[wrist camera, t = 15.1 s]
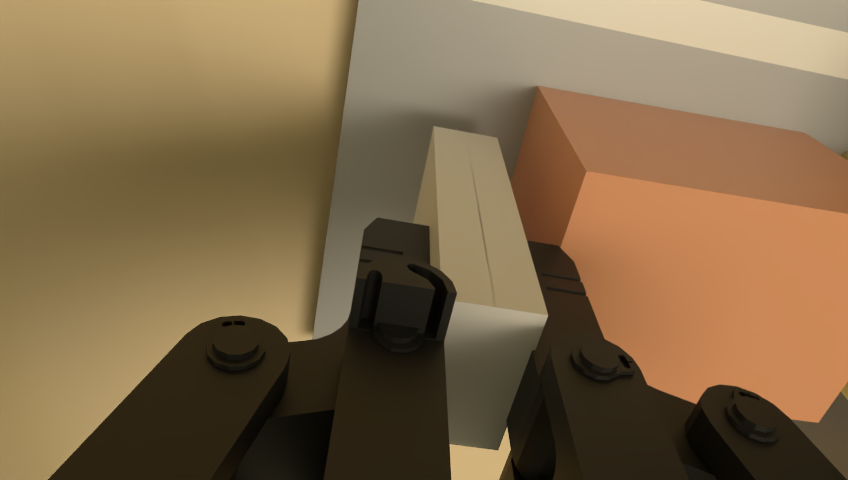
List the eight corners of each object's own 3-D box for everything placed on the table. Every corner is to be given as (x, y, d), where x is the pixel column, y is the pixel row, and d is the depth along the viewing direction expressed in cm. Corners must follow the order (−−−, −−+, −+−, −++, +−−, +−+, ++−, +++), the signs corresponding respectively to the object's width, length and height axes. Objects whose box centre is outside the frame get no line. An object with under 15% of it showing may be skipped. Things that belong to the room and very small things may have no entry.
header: (315, 331, 20) (270, 529, 14) (386, -181, 13) (358, -231, 7) (769, 398, 22) (905, 600, 16) (1048, -22, 15) (1490, 49, 9)
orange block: (490, 258, 17) (514, 384, 13) (537, 85, 15) (585, 171, 11) (722, 292, 18) (818, 423, 14) (805, 132, 16) (954, 231, 11)
